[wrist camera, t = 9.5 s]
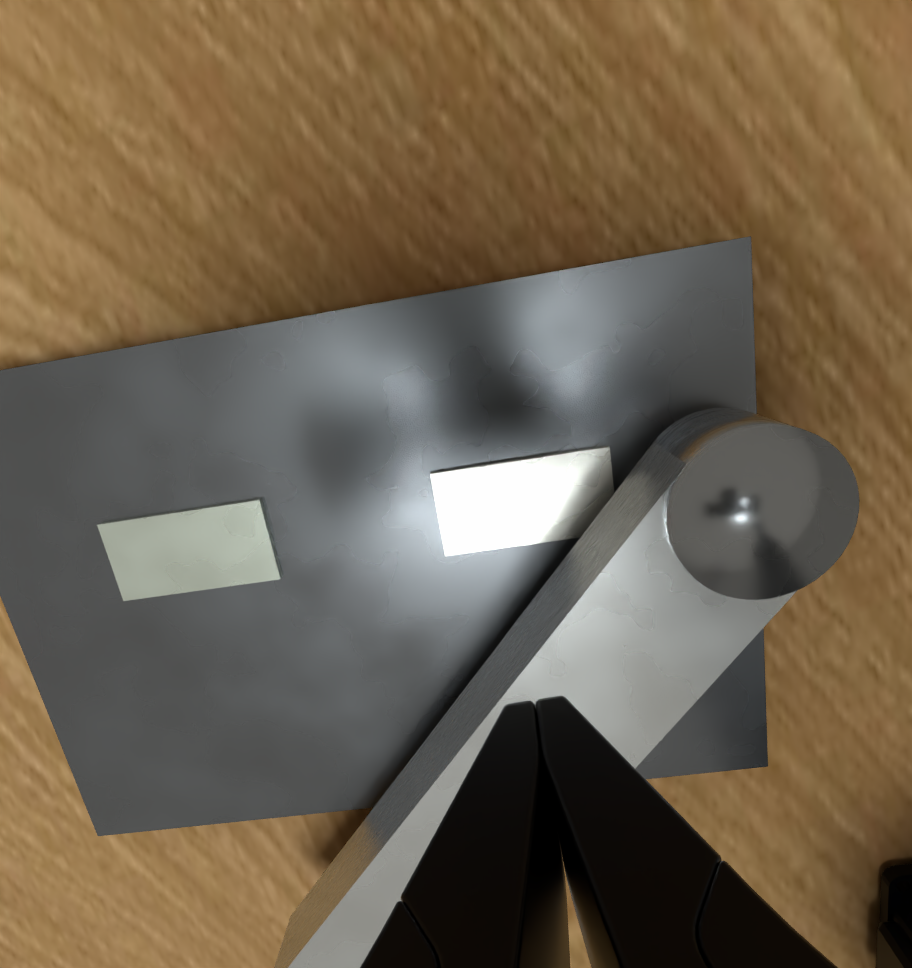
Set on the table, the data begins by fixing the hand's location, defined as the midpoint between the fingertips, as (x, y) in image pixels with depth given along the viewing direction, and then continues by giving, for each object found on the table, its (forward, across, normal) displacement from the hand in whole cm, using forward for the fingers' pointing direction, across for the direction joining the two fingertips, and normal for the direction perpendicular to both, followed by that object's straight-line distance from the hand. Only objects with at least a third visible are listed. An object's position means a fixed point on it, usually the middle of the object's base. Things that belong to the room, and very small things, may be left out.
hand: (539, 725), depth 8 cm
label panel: (+10, +4, +1) cm, 11 cm away
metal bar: (+8, +1, +6) cm, 10 cm away
